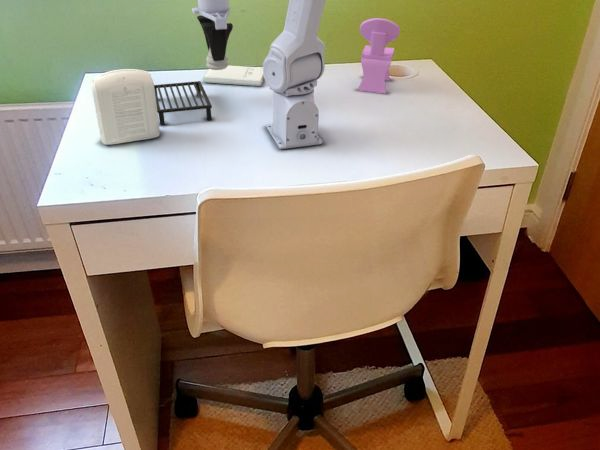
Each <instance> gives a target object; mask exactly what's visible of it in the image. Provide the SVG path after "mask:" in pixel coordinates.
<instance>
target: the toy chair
mask: <svg viewBox="0 0 600 450" xmlns="http://www.w3.org/2000/svg"><path fill="white" fill-rule="evenodd" d="M359 33H360V35H361V36H362V37H363V38H364V39H365V40H366V41H367V42H369V44H370V45H367V44H365V45H364V48H363V50H362V52H361V54H360V55H361V57H360V64H361V68H362V80H361V82H360V85H359V86H358V88H357V91H359V92H368V93H378V94H385V95H386V94H387V88H386V82H387V81H388V82H390V81H391V77H390V72H389V68H390V67H391V65H392V60H393V57H394V54H395V47H386V46H387V45H388V44H390V43H392V42H393V41H395V40H396V39H398V37H399V36H400V33H401V28H400V26H399V25H398V24H397V23H396V22H394V21H393V20H390V19H388V18H380V17H374V18H373V17H372V18H369V19H366V20H364V21H362V22H361V24H360V25H359ZM385 81H386V82H385Z"/></svg>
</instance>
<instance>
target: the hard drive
mask: <svg viewBox="0 0 600 450" xmlns="http://www.w3.org/2000/svg"><path fill="white" fill-rule="evenodd" d="M264 80H265V79H264V76H263V67H256V66H255V67H254V66H241V65H230V64H228V66H227V68H225V69H222V70H212V69H209V68H208V70H207V71H206V73H205V74H204V76H203V81H204V83H205V84H206V83H209V84H210V83H211V84H222V85H237V86H251V87H262V84H263V82H264Z"/></svg>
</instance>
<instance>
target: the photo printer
mask: <svg viewBox="0 0 600 450" xmlns="http://www.w3.org/2000/svg"><path fill="white" fill-rule="evenodd" d="M154 85H155V83H154V80H153V78H152V75H151V73H150V71H148V70H144V69H143V70H142V69H138V68H121V69H120V68H119V69H114V70H113V69H112V70H109V71H105V72H103V73H100V74H98V75H96V76H94V77H92V84H91V93H92V98H93V103H94V109H95V114H96V120H97V125H98V130H99V137H100V141H101V143H102V144H103V145H118V144H124V143H130V142H136V141H144V140H151V139H155V138H158V137H159V136H160V135H161V130H160V120H159V113H158V112H157V104H156V96H155V88H154Z"/></svg>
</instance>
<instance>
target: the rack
mask: <svg viewBox="0 0 600 450" xmlns="http://www.w3.org/2000/svg"><path fill="white" fill-rule="evenodd" d="M186 86H187V87H188V90H189V92H190V94H191V95H190V96H191V97H192V99H193V102H194V105H192V103H191V100H190V98H189V95H188V93H187V91H186V88H185V87H186ZM191 86H193V87H194V89H195V91H196V96H195V94H194V92H193V89H192V87H191ZM179 87H181V88H182V91H183V92H184V96H185V98H186V102H187V104H188V106H186V104H185V102H184V99H183V96H182V94H181V91H180V88H179ZM154 88H155V96H156V104H157V113H158V121H159V126H165V125H166V122H165V121H166V120H165V113H176V112H187V111H196V110H197V111H198V110H205V113H206V120H207V121H211V120H212V108H213V105H212V104H211V100H210V98H209V96H208V95H207V92H206V90H205V88H204V86H203V84H202V82H201V80H197V81H185V82H175V83H173V82H172V83H162V84H154ZM162 88H163V90H164V93H165V96H166V99H167V103H168V105H169V108H167V107H166V104H165V101H164V98H163V94H162V90H161V89H162ZM167 88H169V89H170V92H171V95H172V98H173V102H174V104H175V107H173V105H172V101H171V99H170V96H169V93H168V89H167ZM173 88H175V89H176V91H177V94H178V96H179V99H180V102H181V105H182V107H181V106H179V104H178V100H177V98H176V94H175V91H174V89H173ZM202 96H203V97H202ZM159 97H160V98H159ZM196 97H197V98H198V99H199V101H200V103H201V105H199V104H198V102H197V99H196ZM203 98H204V100H203ZM159 99H160V102H161V104H162V108H163V109H162V108H161V106H160V103H159ZM204 101H205V102H204ZM205 103H206V104H205Z"/></svg>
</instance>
